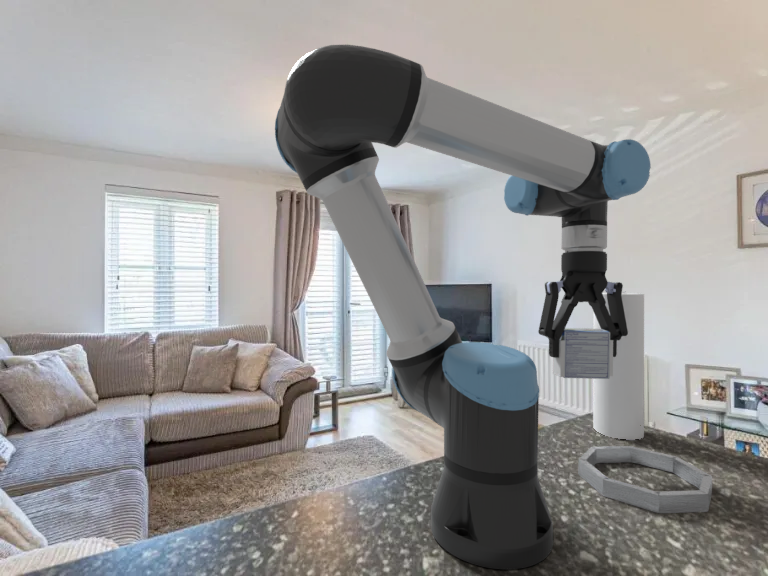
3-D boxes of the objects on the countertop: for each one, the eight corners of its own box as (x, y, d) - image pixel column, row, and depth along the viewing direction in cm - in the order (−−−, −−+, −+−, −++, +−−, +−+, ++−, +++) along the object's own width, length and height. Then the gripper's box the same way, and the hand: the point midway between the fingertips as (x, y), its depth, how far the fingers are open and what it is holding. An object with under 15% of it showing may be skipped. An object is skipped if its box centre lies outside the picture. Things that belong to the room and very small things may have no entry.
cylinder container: (604, 421, 95) (604, 290, 94) (650, 432, 88) (651, 291, 87) (585, 431, 89) (585, 291, 88) (633, 443, 82) (633, 292, 81)
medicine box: (599, 374, 77) (600, 328, 77) (610, 380, 73) (610, 331, 73) (556, 373, 78) (556, 327, 78) (564, 378, 74) (564, 330, 74)
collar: (623, 514, 57) (624, 496, 57) (563, 461, 74) (563, 447, 74) (742, 510, 58) (742, 492, 58) (655, 458, 75) (655, 445, 75)
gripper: (537, 248, 71) (536, 380, 71) (653, 250, 73) (651, 378, 73) (519, 251, 78) (517, 371, 78) (624, 253, 80) (623, 370, 80)
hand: (582, 374), depth 76 cm, fingers closed on medicine box, 8 cm apart
